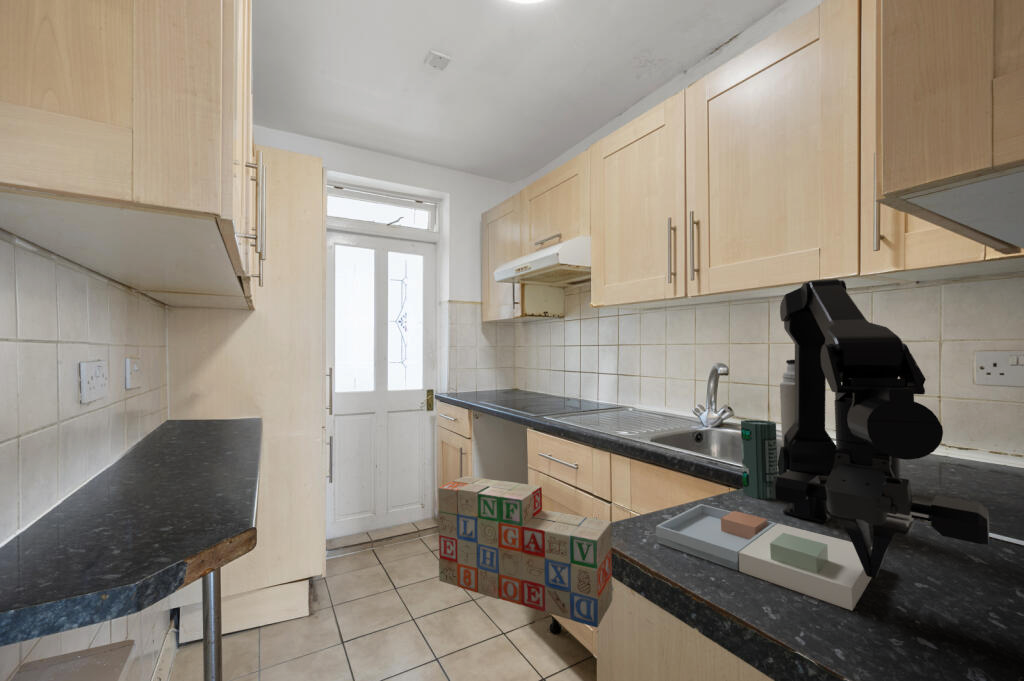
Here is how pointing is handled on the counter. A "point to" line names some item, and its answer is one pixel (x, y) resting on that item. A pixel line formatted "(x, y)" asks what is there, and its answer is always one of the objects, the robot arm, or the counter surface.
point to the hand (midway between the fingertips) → (871, 576)
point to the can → (759, 458)
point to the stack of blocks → (523, 549)
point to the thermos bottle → (787, 398)
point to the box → (704, 535)
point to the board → (832, 583)
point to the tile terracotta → (742, 524)
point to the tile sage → (799, 552)
